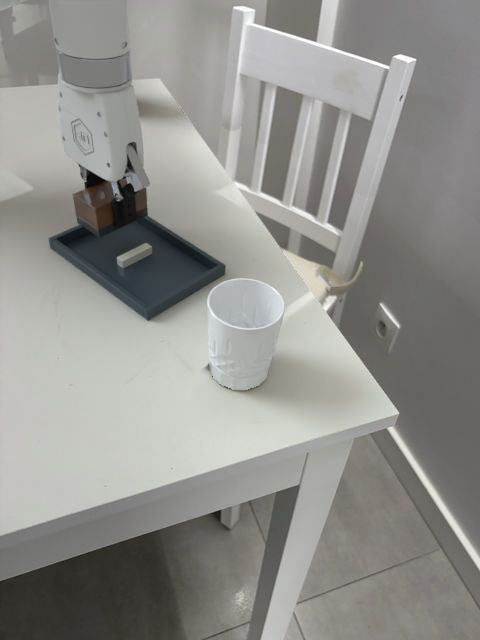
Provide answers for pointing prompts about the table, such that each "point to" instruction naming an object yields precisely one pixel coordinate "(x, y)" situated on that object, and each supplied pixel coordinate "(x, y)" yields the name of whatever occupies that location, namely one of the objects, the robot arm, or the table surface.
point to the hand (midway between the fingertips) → (112, 213)
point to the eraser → (103, 207)
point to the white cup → (243, 331)
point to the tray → (140, 264)
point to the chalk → (134, 255)
